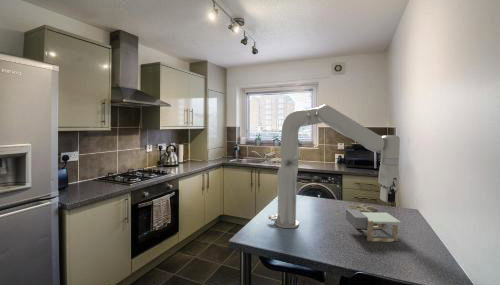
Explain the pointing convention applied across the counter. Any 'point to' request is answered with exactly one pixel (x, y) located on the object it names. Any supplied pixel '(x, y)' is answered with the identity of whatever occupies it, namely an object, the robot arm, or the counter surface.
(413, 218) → the counter surface
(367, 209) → the geode
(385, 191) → the cube
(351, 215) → the trapdoor
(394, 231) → the frame
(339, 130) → the robot arm
